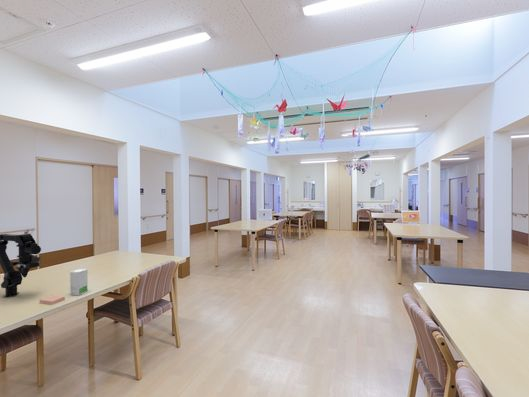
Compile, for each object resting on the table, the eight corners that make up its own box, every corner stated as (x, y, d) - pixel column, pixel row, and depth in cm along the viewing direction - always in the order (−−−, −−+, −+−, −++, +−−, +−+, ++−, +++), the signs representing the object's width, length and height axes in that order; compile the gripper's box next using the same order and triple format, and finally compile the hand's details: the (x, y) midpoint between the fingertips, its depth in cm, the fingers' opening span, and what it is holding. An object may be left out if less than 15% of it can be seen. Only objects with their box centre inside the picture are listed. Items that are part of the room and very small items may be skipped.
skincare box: (78, 295, 178) (78, 272, 178) (69, 295, 179) (69, 271, 179) (88, 291, 186) (88, 268, 186) (79, 290, 187) (79, 268, 187)
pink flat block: (39, 299, 166) (52, 301, 163) (52, 295, 173) (64, 296, 171) (39, 303, 166) (52, 305, 163) (52, 298, 174) (64, 300, 171)
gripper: (48, 251, 180) (48, 274, 180) (28, 250, 185) (28, 272, 185) (29, 255, 169) (30, 280, 170) (8, 253, 174) (9, 277, 175)
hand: (24, 277), depth 175 cm, fingers closed
